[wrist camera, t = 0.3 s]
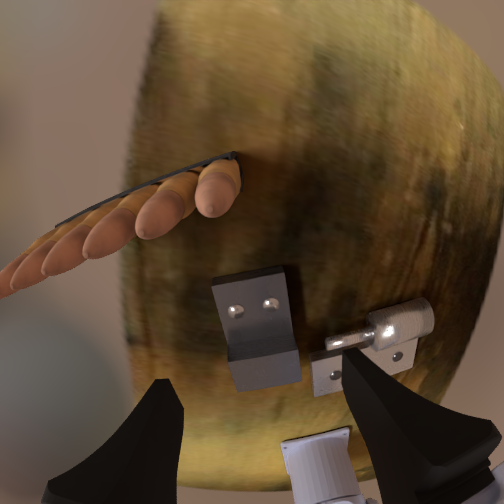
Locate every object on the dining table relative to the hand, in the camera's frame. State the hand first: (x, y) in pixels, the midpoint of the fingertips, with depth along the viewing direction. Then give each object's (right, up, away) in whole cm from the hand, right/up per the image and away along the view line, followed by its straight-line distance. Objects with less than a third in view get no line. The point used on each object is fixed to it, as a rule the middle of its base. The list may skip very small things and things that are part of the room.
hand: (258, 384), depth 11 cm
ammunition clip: (-6, +9, +7) cm, 13 cm away
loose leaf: (0, 0, +10) cm, 10 cm away
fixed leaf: (+9, -2, +12) cm, 16 cm away
